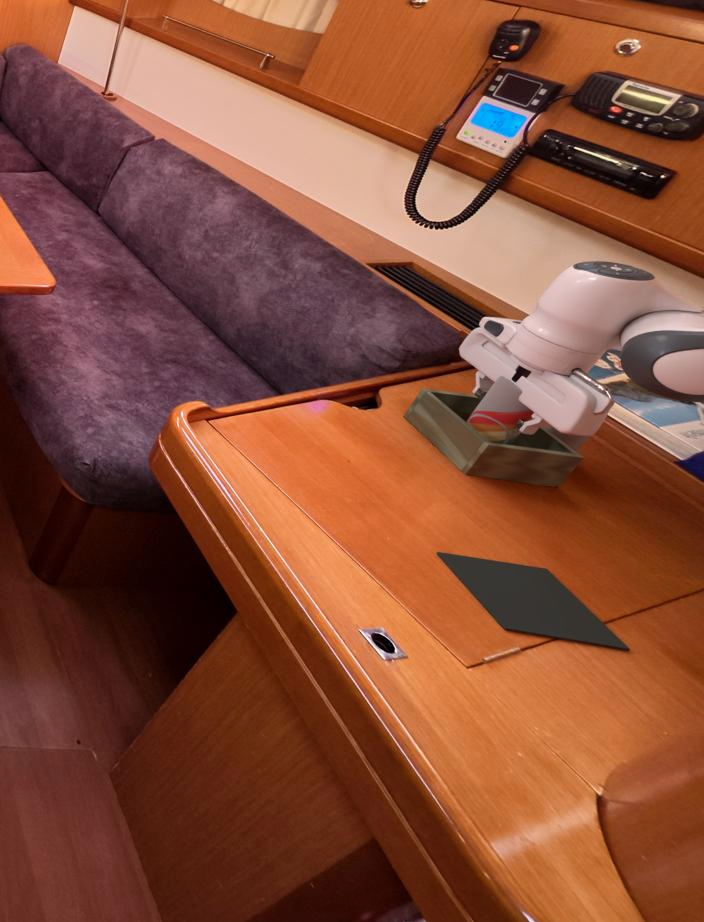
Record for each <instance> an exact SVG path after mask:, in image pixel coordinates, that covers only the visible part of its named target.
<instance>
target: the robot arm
mask: <svg viewBox="0 0 704 922" xmlns="http://www.w3.org/2000/svg"><path fill="white" fill-rule="evenodd" d="M478 326H479V327H476V328H474V329H472V331H470V332H469V334H468V335H466V337H465V339H464V340H463V341H462V343H461V344H460V346H459V348H458V351H459V356H460V357H461V358H462V359H463V360H465V361H466V362H467V363H469V364H470V365H471V366H473V368H475V369H476V370H477V371H476V373H475V387H474V388H473V390H472V391H471V393H472V395H476V396H477V397H478V398H480V399H483V398H484V396H485V395H486V394H487V392H488V391H489V390H490V388H491V387H492V386H493V382H494V383H495V381H496V380H497V379H498V378H499V377H500V376H503V377H505V378H506V379H508V380H510V381H511V382H513V383H514V384H515V385H516V386H517V387H519V388H520V389H521V390H522V394H521V395H520V396H519V401H520V402H521V403H523V404H524V405H525V406H527V407H528V408H529V409H531V410H532V411H533V412H534V413H533V415H532V418H533V419H534V420H530V421H529V420H522V419H519V420H518V421H517V424H515V425H514V426H515V427H516V428H517V429H518V430H519V431H521V432H522V433H523V434H530V435H531V434H534V433H535V432H536V431H537V430H538V429H539V428H541V427H546V426H550V425H552V426H553V427H554V428H556V429H557V430H558V431H560V432H561V433H564V434H570V435H577V436H590V435H591V436H593V435H595V434H596V433H597V432H598V430H599V429H600V427H601V426H602V425H603V423H604V422H605V420H606V419H607V416H608V415H609V412H610V410H611V409H612V407H613V406H615V403H616V400H615V399H614V396H613V394H612V393H611V389H610V388H609V387H608V386H607V385H606V384H604V383H602V382H600V381H598V380H597V379H595V378H594V377H593V376H592V375H590V374H589V373H590V371H591V369H592V368H593V367H594V366H595V365H596V364H597V362H598V361H599V360H600V359H601V358H602V357H603V356H604V354H605V353H606V352H607V351H609V350H615V351H619V352H621V353H620V366H621V369H622V371H623V372H624V374H625V375H626V376H627V378H628V379H629V380H631V381H632V382H633V383H634V384H636V385H637V386H639V387H640V388H642V389H644V390H646V391H648V392H650V393H652V394H655V395H658V396H660V397H663V398H667V399H671V400H676V401H681V402H689V403H704V307H703V306H700V305H698V304H696V303H694V302H692V301H690V300H688V299H686V298H684V297H682V296H680V295H678V293H675V292H674V291H672V290H671V289H669V288H668V287H667V286H665V285H664V284H663V283H662V282H661V281H659V280H658V278H657V277H656V275H654V274H653V273H652V272H649V271H647V270H645V269H642V268H638V267H635V266H632V265H629V264H626V263H625V264H624V263H619V262H613V261H604V260H591V261H581V262H577V263H575V264H572V265H571V266H569V267H568V268H566V269H564V270H563V271H562V272H561V273H560V274H559V275H558V276H557V277H556V278H555V279H554V280H553V281H552V282H551V283H550V284H549V285H548V287H547V288H546V289H545V290H544V291H543V293H542V294H541V296H540V297H539V298H538V300H537V302H536V307H535V309H534V310H533V312H532V313H531V314H529V315H528V316H526V317H525V318H523V320H519V319H512V318H505V317H495V316H484V317H482V318H481V319H480V321H479V323H478ZM518 365H520V366H521V367H523V368H525V369H527V370H529V371H531V374H530V375H529V376H528V377H527V378H525V377H523V376H522V377H521V378H520V379H519V380H518V381H517V382H514V381H512V377H513V376H514V374H515V373H516V371H515V369H516V368H517V367H518ZM605 418H606V419H605ZM603 421H604V422H603ZM591 436H590V437H591Z"/></svg>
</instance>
